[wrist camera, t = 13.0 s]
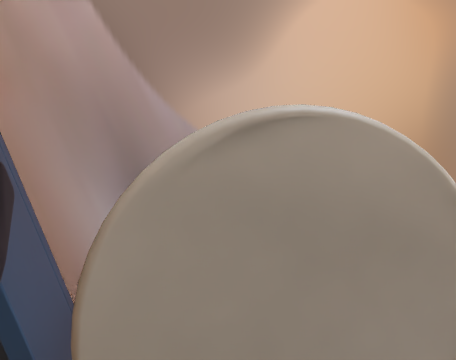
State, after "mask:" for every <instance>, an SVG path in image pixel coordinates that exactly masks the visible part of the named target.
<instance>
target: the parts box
mask: <svg viewBox="0 0 456 360" xmlns="http://www.w3.org/2000/svg"><path fill="white" fill-rule="evenodd" d="M0 162H2V163H3V165H4V166H5V168H6V171H7V173H8V176H9V178H10V180H11V183H12V185H13V188H14V194H15V198H14V206H13V213H12V221H11V228H10V236H9V243H8V251H7V257H6V263H5V267H4V271H3V275H2V279H1V282H0V360H72V355H71V330H72V313H73V308H74V304H73V302H72V299H71V297H70V295H69V292H68V290H67V287H66V285H65V283H64V280H63V278H62V276H61V273H60V271H59V269H58V266H57V264H56V262H55V259H54V257H53V255H52V252H51V250H50V248H49V245H48V243H47V241H46V238H45V236H44V234H43V231H42V229H41V227H40V224H39V222H38V220H37V217H36V215H35V213H34V210H33V208H32V206H31V203H30V201H29V199H28V196H27V194H26V192H25V189H24V187H23V184H22V182H21V180H20V177H19V175H18V173H17V170H16V168H15V166H14V163H13V161H12V159H11V156H10V154H9V152H8V149H7V147H6V145H5V142H4V140H3V138H2V135H1V133H0Z"/></svg>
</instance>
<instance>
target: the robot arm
mask: <svg viewBox="0 0 456 360" xmlns="http://www.w3.org/2000/svg"><path fill="white" fill-rule="evenodd" d="M14 198H15V194H14V188H13V185H12V183H11V180H10V178H9V176H8V173H7V171H6V168H5V166H4V165H3V163H2V162H0V282H1V279H2V275H3V271H4V267H5V263H6V257H7V251H8V243H9V236H10V228H11V221H12V213H13V206H14Z"/></svg>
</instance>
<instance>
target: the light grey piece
mask: <svg viewBox="0 0 456 360" xmlns="http://www.w3.org/2000/svg"><path fill="white" fill-rule="evenodd" d="M71 355H72V360H456V183H455V181H454V180H453V179H452V178H451V176H450V175H449V174H448V173H447V171H446V170H445V169H444V168H443V167H442V166H441V165H440V164H439V163H438V162H437V161H436V160H435V159H434V158H433V157H431V155H430V154H429V153H428V152H426V151H425V150H424V149H422V148H421V147H420V146H418V145H417V144H415V143H414V142H413V141H412V140H410V139H409V138H408V137H406V136H405V135H403V134H401V133H399V132H397V131H396V130H394V129H392V128H390V127H388V126H387V125H385V124H383V123H381V122H379V121H376V120H373V119H371V118H368V117H366V116H363V115H360V114H358V113H354V112H350V111H346V110H342V109H337V108H333V107H326V106H315V105H303V104H301V105H282V106H271V107H266V108H261V109H255V110H250V111H246V112H242V113H239V114H237V115H234V116H231V117H227V118H225V119H221V120H218V121H216V122H214V123H212V124H210V125H208V126H206V127H204V128H202V129H200V130H198V131H196V132H194V133H192V134H190V135H188V136H187V137H185V138H184V139H182V140H181V141H179V142H178V143H176V144H175V145H173V146H172V147H171V148H169V149H168V150H166V151H165V152H164V153H162V154H161V155H160V156H159V157H158V158H157V159H156V160H154V161H153V162H152V163H151V164H150V165H149V166H148V167H146V168H145V169H144V170H143V171H142V172H141V173H140V174H139V175H138V176H137V178H136V179H135V180H134V181H133V182H132V183H131V184H130V186H129V187H128V188H127V189H126V190H125V191H124V192H123V194H122V195H121V196H120V197H119V199H118V200H117V202H116V203H115V205H114V206H113V208H112V209H111V211H110V212H109V214H108V215H107V217H106V218H105V220H104V221H103V223H102V225H101V227H100V229H99V231H98V233H97V235H96V237H95V239H94V241H93V243H92V246H91V248H90V250H89V252H88V255H87V258H86V261H85V264H84V267H83V270H82V273H81V276H80V279H79V282H78V286H77V291H76V297H75V302H74V308H73V313H72V330H71Z"/></svg>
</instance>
